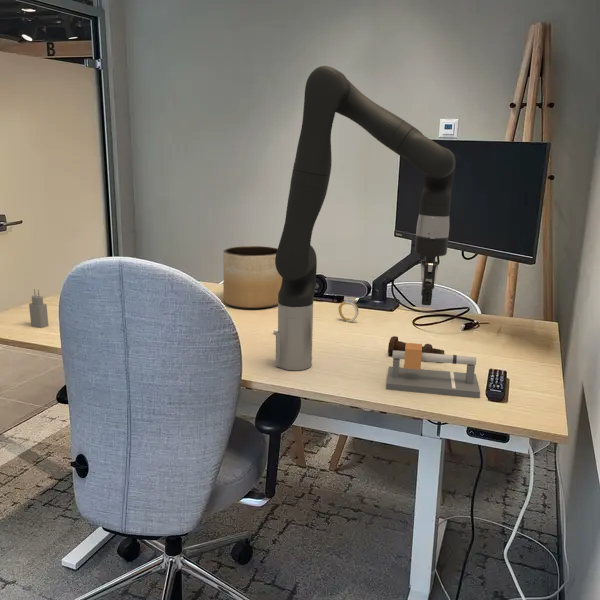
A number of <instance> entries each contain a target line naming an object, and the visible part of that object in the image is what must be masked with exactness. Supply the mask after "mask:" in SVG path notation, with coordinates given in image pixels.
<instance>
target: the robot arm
mask: <svg viewBox="0 0 600 600" xmlns="http://www.w3.org/2000/svg"><path fill="white" fill-rule="evenodd" d="M303 99H304V100H303V112H302V122H301V128H300V133H299V138H298V143H297V147H296V148H297V149H296V153H295V158H294V161H293V162H294V163H293V167H292V173H291V178H290V185H289V193H288V198H287V205H286V212H285V213H286V214H285V218H284V226H283V229H282V233H281V235H280V240H279V244H278V246H277V253H276V257H275V265H276V269H277V271H278V273H279V275H280V276H281V277H282V284H281V288H280V291H279V293H278V305H277V328H278V331H277V332H276V333H275V367H276V368H280V369H283V370H287V371H303V370H307V369H309V368H311V367H312V365H313V361H312V360H313V331H314V330H313V329H314V328H313V327H314V325H313V324H314V296H315V292H316V287H317V284H316V283H317V268H318V267H317V263H318V261H317V253H316V250H315V248H314V247H313V246H312V245H311V242H312V235H313V232H314V231H313V230H314V227H315V223H316V221H317V219H318V216H319V215H320V212H321V209H322V207H323V204H324V202H325V199H326V196H327V192H328V188H329V183H330V178H331V172H332V131H333V129H332V128H333V125H334V120H335V116H336V114H338V115H340V116H344V117H346V118H348V119H349V120H350V121H352V122H354V123H356V124H357V125H359V127H360V128H361V127H362V128H363V129H364V130H365V131H366V132H367V133H368V134H369V135H371V136H372V137H373V138H374V139H375V140H377V141H378V142H380V144H382V145H383V146H385V147H386V148H388V149H389V150H391V152H394V153H395V154H397V155H398V156H400V157H401V158H404V159H405V160H407V161H408V162H409V163H410V164H411V165H413V166H414V167H415V168H416V169H418V170H419V171H420V172H422V173H423V174H424V176H423V177H424V181H423V190H422V192H421V195H420V199H419V208H418V209H419V212H418V218H417V223H416V233H415V241H414V242H415V243H414V252H415V254H417V255H419V256H423V259H421V260H420V275H421V276H420V281H421V282H422V283H421V293H420V295H421V305H423V306H431V305H432V299H433V290H434V289H435V282H436V281H437V280H436V279H437V273H438V268H439V262H438V261H436V258H437V257H444V256H446V255H447V253H448V245H449V233H450V214H451V213H450V212H451V203H452V190H453V184H454V179H455V171H456V156H455V154H454V153H453V152H452V151H451V149H449V148H447V147H444V146H442V145H441V144H439V143H437V142H435V141H433V140H432V139H430V138H429V137H427V136H426V135H424V134H423V132H422V131H420V130H419V129H418V128H417V127H415V126H413V125H412V124H410V123H409V122H408V121H406V120H404V119H403V118H401V117H400V116H398V115H396V114H395V113H393V112H392V111H390V110H387V109H386V108H384V107H383V106H381V105H380V104H377V103H376V102H375V101H373V100H372V99H370V98H369V97H368V96H367V95H365V94H364V93H362V92H361V91H360V90H359V89H358V88H357V87H356V86H355V85H354V84H353V83H352V82H351V81H350V80H348V78H347V77H346V75H345V74H344V73H343V72H342V71H339V70H338V69H336V68H334V67H332V66H329V65H321V66H317V67H316V68H314V69H313V71H311V73H309V75H308V77H307V79H306V82H305V87H304V98H303Z"/></svg>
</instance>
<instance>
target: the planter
mask: <svg viewBox="0 0 600 600" xmlns="http://www.w3.org/2000/svg"><path fill="white" fill-rule="evenodd" d="M277 249H278V247H277V248H276V247H270V246H264V245H263V246H259V245H256V246H255V245H246V246H245V245H244V246H243V245H242V246H233V247H228V248H225V249H224V250H223V252H222V253H223V261H222V262H223V264H222V265H223V278H222V279H223V281H222V282H223V283H222V284H223V288H222V289H223V294H222V295H223V296H222V297H223V301H224V303H225V304H227V306H230V307H232V308H236V309H242V310H262V309H264V310H265V309H270V308H273V307H276V306H278V293H279V291H280V288H281V284H282V277H281V276H280V275H279V273H278V271H277V269H276V265H275V257H276V253H277Z"/></svg>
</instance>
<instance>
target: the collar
mask: <svg viewBox="0 0 600 600" xmlns="http://www.w3.org/2000/svg"><path fill="white" fill-rule="evenodd" d="M405 343H406V346H405V359H403V360H404V362H403V363H404V365H403V368H407V369H418V370H421V368H422V361H421V357H422V346H423V343H414V342H405Z"/></svg>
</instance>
